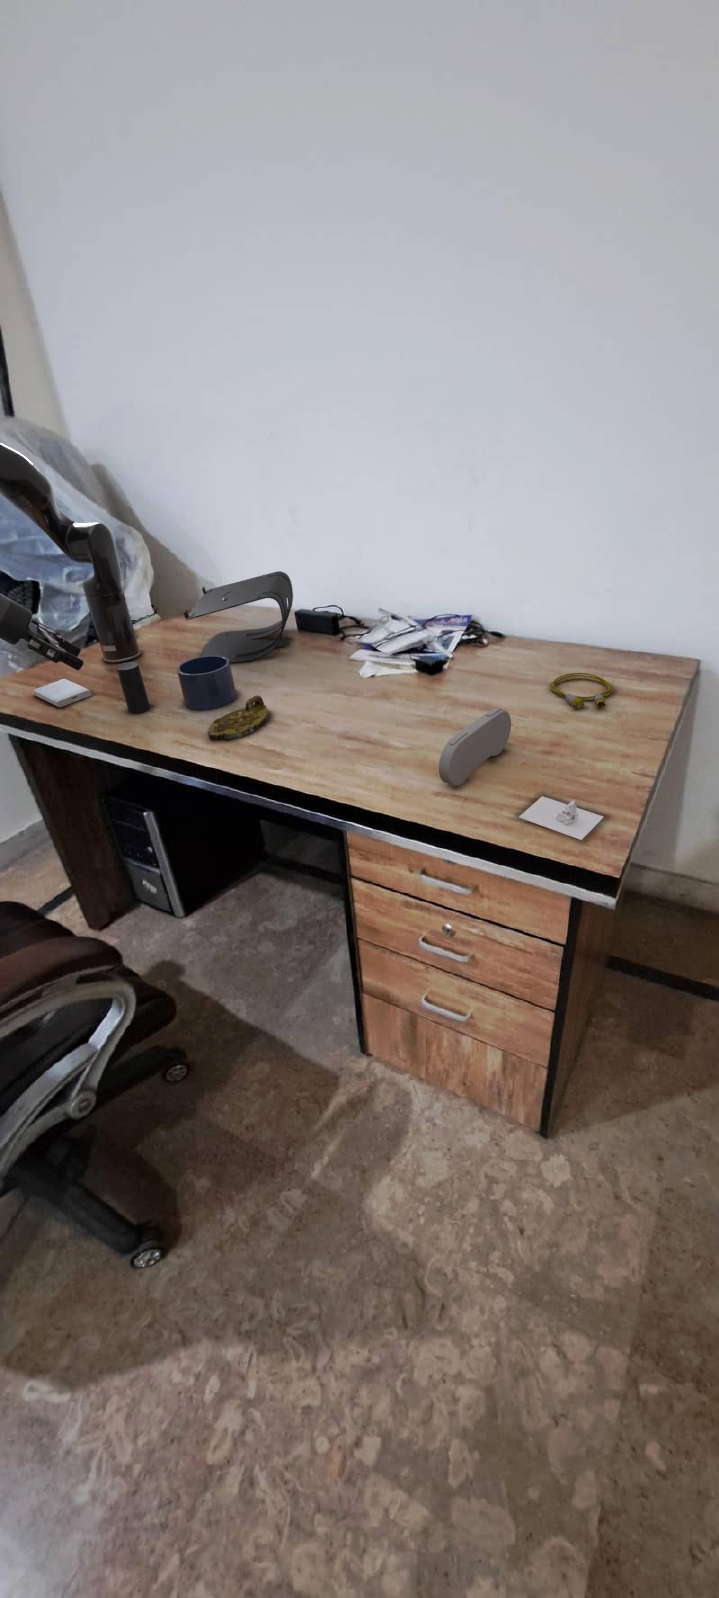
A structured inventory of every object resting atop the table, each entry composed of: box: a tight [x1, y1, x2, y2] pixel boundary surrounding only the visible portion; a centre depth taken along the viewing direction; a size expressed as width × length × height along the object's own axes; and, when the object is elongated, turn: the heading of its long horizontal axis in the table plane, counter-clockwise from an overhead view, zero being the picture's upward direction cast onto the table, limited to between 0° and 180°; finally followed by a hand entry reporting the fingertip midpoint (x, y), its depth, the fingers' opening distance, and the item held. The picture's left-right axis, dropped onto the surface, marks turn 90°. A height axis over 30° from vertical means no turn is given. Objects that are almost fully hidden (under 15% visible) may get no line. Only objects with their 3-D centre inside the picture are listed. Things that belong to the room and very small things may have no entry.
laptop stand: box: [183, 570, 294, 664], centre depth 172 cm, size 26×24×16 cm
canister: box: [115, 661, 151, 715], centre depth 144 cm, size 5×5×10 cm
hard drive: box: [32, 678, 92, 708], centre depth 157 cm, size 2×8×12 cm
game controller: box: [438, 707, 512, 787], centre depth 112 cm, size 20×2×8 cm, turn 140°
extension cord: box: [550, 672, 613, 710], centre depth 134 cm, size 12×16×2 cm
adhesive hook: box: [554, 799, 579, 825], centre depth 98 cm, size 3×3×3 cm
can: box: [176, 655, 237, 711], centre depth 146 cm, size 11×11×8 cm
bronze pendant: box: [207, 694, 269, 740], centre depth 134 cm, size 9×5×15 cm
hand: (80, 659), depth 137 cm, fingers open, 8 cm apart
